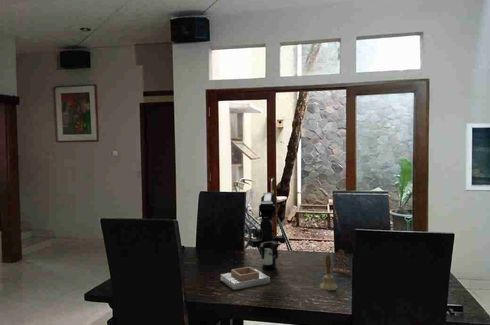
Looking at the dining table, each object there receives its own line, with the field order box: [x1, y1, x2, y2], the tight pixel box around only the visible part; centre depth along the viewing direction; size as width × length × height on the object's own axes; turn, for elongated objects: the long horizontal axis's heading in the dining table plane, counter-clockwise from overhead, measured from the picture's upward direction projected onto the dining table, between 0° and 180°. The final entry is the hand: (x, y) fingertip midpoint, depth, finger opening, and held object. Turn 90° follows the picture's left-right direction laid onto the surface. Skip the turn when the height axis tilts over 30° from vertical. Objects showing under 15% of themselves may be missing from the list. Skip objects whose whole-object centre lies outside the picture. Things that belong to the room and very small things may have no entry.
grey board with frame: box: [220, 266, 271, 291], centre depth 206 cm, size 20×16×6 cm
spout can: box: [261, 248, 273, 265], centre depth 201 cm, size 5×7×7 cm
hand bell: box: [319, 254, 338, 291], centre depth 196 cm, size 8×8×16 cm
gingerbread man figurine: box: [331, 249, 351, 275], centre depth 220 cm, size 9×4×12 cm, turn 60°
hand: (267, 258), depth 202 cm, fingers closed on spout can, 5 cm apart
